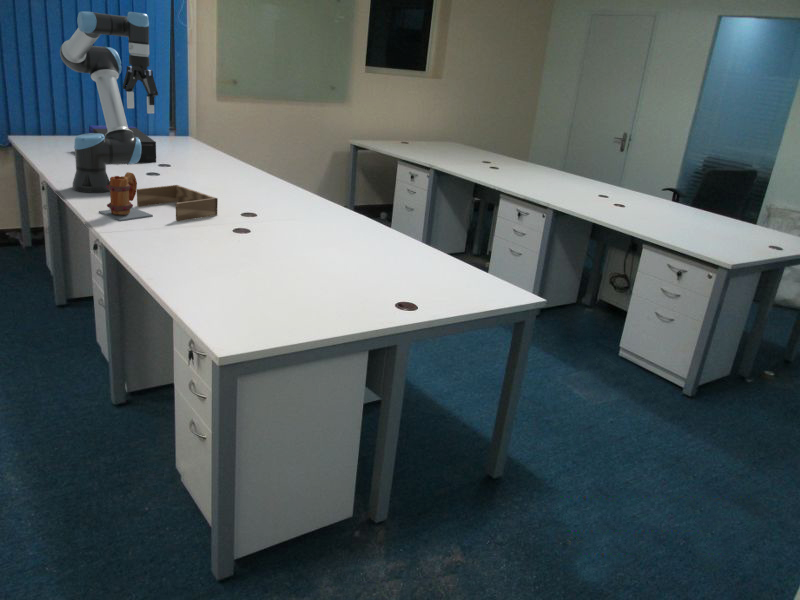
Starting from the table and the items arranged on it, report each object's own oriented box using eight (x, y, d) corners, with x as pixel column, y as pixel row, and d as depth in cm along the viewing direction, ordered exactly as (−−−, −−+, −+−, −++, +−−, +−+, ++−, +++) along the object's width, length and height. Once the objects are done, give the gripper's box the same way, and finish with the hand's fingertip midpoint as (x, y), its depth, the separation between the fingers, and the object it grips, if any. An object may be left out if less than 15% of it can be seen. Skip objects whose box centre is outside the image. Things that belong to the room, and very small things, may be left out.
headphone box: (133, 150, 373) (132, 125, 368) (156, 162, 349) (156, 136, 344) (88, 150, 357) (86, 124, 352) (108, 163, 333) (107, 135, 328)
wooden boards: (137, 205, 264) (136, 189, 261) (177, 200, 279) (176, 184, 276) (177, 221, 250) (177, 203, 248) (217, 215, 266) (217, 198, 263)
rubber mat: (98, 212, 249) (98, 211, 249) (131, 208, 260) (131, 206, 259) (120, 221, 242) (119, 219, 241) (152, 216, 253) (152, 215, 252)
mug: (122, 218, 243) (120, 178, 238) (103, 214, 245) (101, 175, 239) (144, 210, 257) (144, 173, 251) (126, 207, 258) (125, 169, 253)
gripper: (112, 51, 257) (114, 106, 264) (149, 58, 244) (151, 115, 251) (129, 52, 262) (130, 106, 270) (166, 59, 250) (167, 115, 257)
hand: (140, 110), depth 261 cm, fingers open, 13 cm apart
